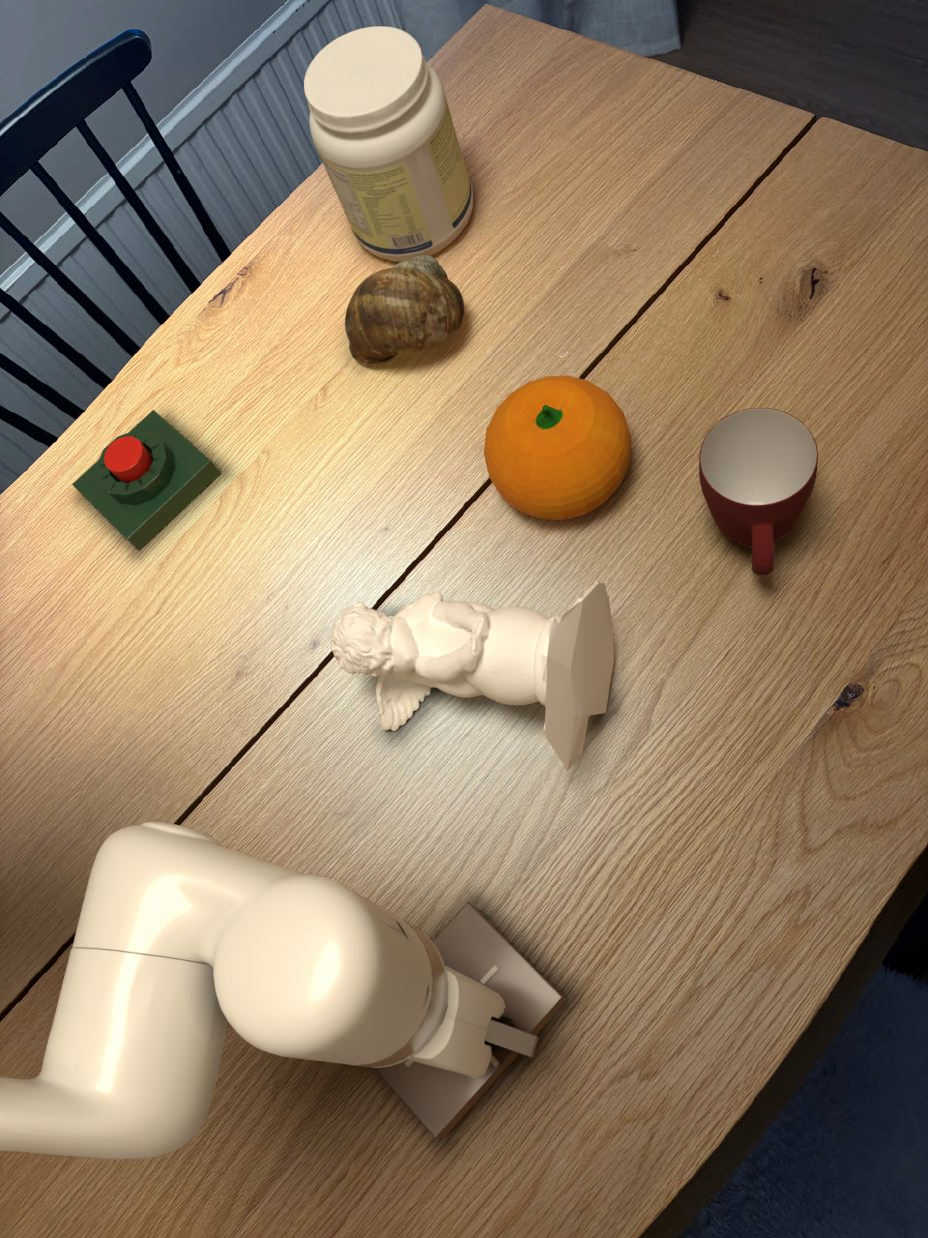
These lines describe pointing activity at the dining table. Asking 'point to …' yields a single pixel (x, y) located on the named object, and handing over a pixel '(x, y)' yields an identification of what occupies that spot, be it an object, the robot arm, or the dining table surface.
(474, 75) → the dining table surface
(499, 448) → the fruit
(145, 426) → the box
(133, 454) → the button
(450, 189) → the supplement tub
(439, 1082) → the dial panel
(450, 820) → the dining table surface
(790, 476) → the mug
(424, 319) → the seashell
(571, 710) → the angel figurine
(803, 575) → the dining table surface
